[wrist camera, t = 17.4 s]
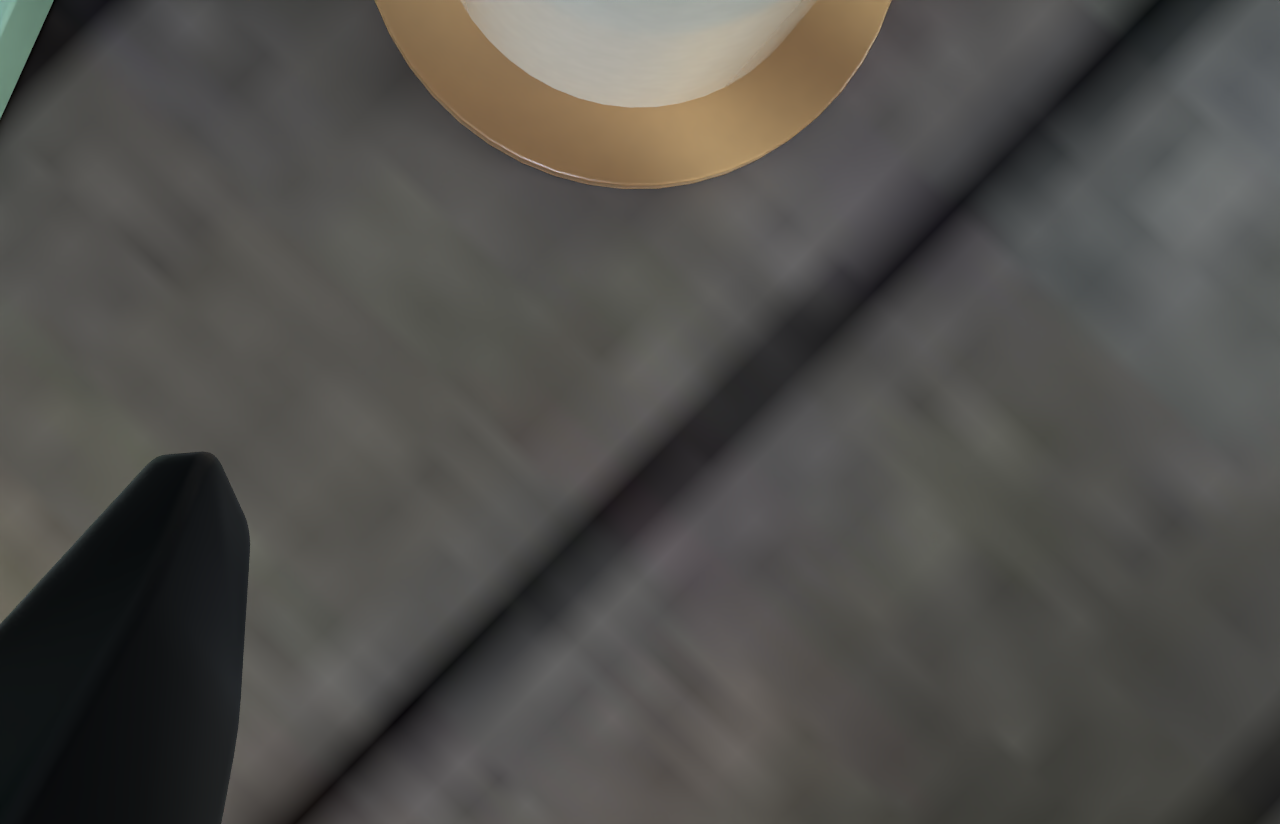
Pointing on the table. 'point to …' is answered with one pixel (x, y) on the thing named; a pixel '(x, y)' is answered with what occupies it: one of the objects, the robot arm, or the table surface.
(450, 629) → the table surface
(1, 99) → the scale
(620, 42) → the cup
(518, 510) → the table surface
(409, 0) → the coaster
